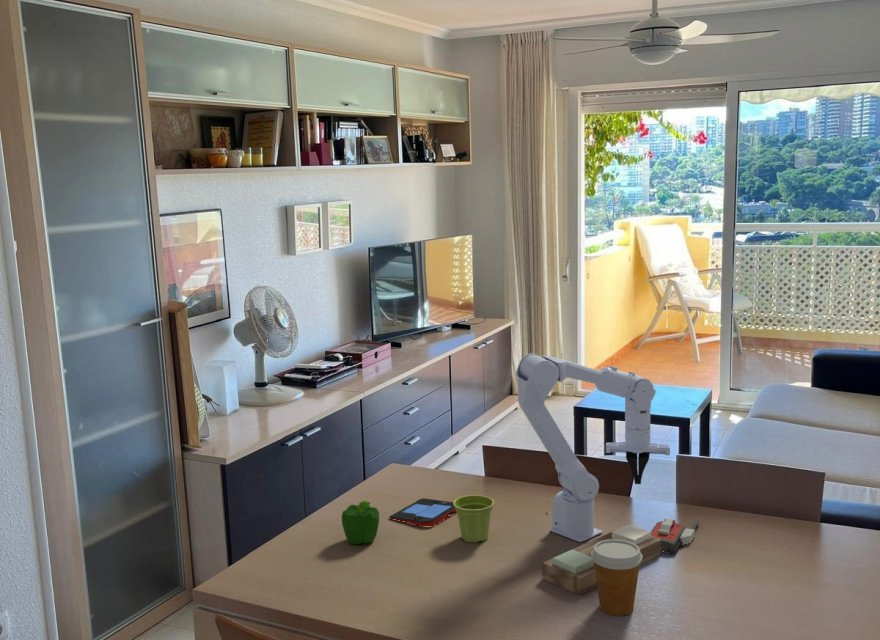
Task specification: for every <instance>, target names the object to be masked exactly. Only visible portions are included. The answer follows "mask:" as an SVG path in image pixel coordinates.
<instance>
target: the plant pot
mask: <svg viewBox="0 0 880 640" xmlns="http://www.w3.org/2000/svg"><path fill="white" fill-rule="evenodd" d="M452 502H453V505H454V507H455V508H456V511H457V513H456V515H457V519H458V523H459V530H460V536H461V539H463V541H464V542H467V543H472V542H473V544H475V543H478V542H480V541H481V542H484V541H487V540H488V538H489V530H490V521H491V514H492V510H493V506H494V505H495V500H494V499H493V498H491V497H489V496H485V495H481V494H472V495H469V494H468V495H464V496H460V497H458V498H455V500H453V501H452Z"/></svg>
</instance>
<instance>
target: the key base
mask: <svg viewBox="0 0 880 640" xmlns="http://www.w3.org/2000/svg"><path fill="white" fill-rule="evenodd" d="M622 527H623V526H622ZM622 527H620V528H622ZM612 532H613V531H611V532H609V533H606V534H604V535H602V536H599V537H597V538H595V539H593V540H590V541H588V542H586V543H583V544H581V545H579V546H577V547H575V548H572V549H573V550H575V551H578V552H580V553H583V554H585V555H588V556H590V557H592V556H591V552H592V551H593V549H594V546H595V545H596V543H598V542H600V541H604V540H614V539H612ZM661 542H662V539H659V538H656V537H653V536H651V539H650V540H648V541H646V542H643V543H641V544H639V545H637V546H638V547H639V549H640V552H641V554H642V556H643V557H642V560H641V563H640V565H639V566H641V565H643V564H646V563H647V562H650V561H651V560H653V559H655V558H657V557H659V556H661V555H662V552H661ZM660 554H661V555H660ZM553 558H554V557H552V558H550V559H548V560H546V561H543V562H542V565H541V566H542V580H545V581H547V582H549V583H552V584H553V585H555V586H558V587H561V588H562V589H565V590H567V591H569V592H572V593H574V594H576V595H579V596H582V595H584V594H586V593H588V592H590V591H591V590H594V589H595V588H597V581H596V572H595V566H593V567H591V568H589V569H587V570H585V571H583V572H580V573H578V574H576V575H575V574H573V573H570V572H568V571H566V570H563V569H561V568H559V567H556V566H554V565H553Z"/></svg>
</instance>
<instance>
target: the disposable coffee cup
mask: <svg viewBox="0 0 880 640" xmlns="http://www.w3.org/2000/svg"><path fill="white" fill-rule="evenodd" d="M591 556H592V558H593V561H594V565H595V572H596V581H597V587H596V588H597V595H598V602H599V603H598V604H599V609H600V611H602V612H604V613H605V614H606V615H610V616H617V617H620V616H621V617H622V616H627V615H629V614H631V613H632V612H633V611H634V606H635V600H636V593H637V586H638V577H639V573H640V572H639V570H640V566H641V565H640V563H641V560H642V557H643V556H642V554H641V552H640V549H639V547H638V546H637V545H635V544H634V543H631V542H628V541H624V540H604V541H600V542H598V543H596V545H595V546H594V549H593V551H592V552H591Z"/></svg>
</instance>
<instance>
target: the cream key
mask: <svg viewBox="0 0 880 640" xmlns="http://www.w3.org/2000/svg"><path fill="white" fill-rule="evenodd" d="M611 532H612V539H614V540H624V541H628V542H631V543H634V544H635V545H639V544H641V543H643V542H646V541H648V540H650V539H651V531H650V530H647V529H643V528H641V527H637V526H635V525H631V524H627V525H624V526H622V528H621V527H619V528H617V529H615V530H613V531H611Z"/></svg>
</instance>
